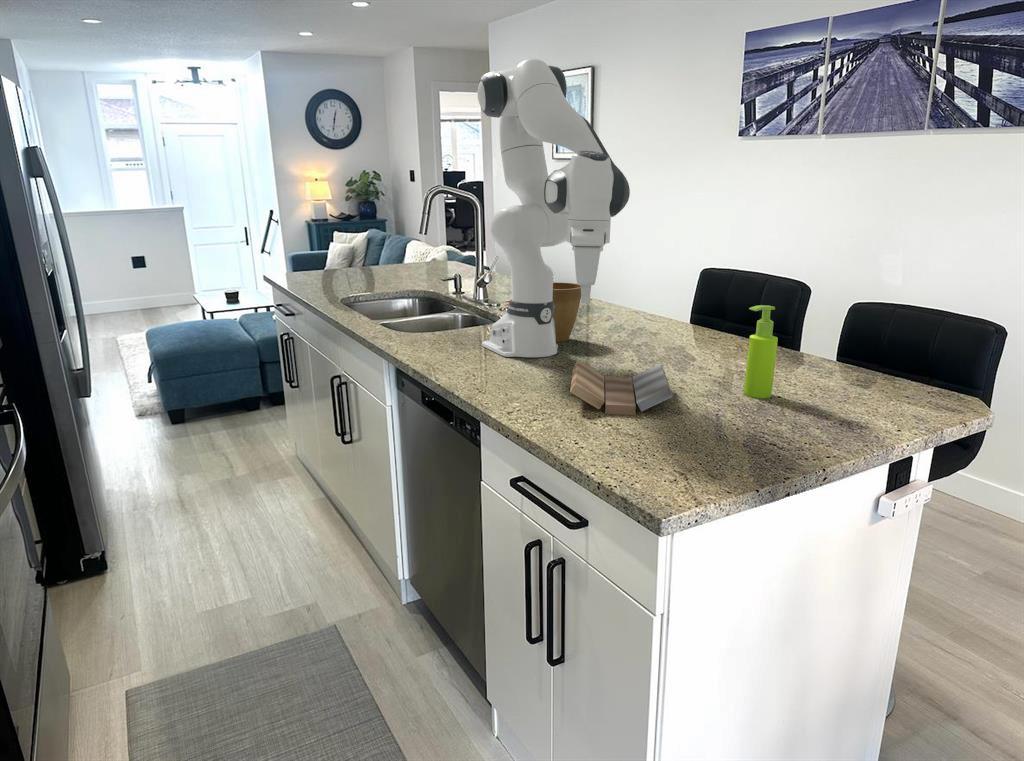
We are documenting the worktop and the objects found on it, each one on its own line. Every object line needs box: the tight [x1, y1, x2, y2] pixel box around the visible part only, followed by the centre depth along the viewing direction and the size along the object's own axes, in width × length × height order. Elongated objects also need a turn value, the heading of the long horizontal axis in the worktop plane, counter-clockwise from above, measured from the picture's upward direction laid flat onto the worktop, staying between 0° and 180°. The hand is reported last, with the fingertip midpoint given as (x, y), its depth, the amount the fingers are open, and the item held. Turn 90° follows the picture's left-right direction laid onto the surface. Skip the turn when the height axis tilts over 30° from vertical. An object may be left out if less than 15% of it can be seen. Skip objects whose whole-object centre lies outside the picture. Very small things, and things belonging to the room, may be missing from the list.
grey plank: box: [631, 363, 674, 413], centre depth 156 cm, size 20×7×2 cm, turn 173°
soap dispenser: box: [743, 304, 779, 399], centre depth 159 cm, size 6×7×20 cm
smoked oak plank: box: [569, 359, 605, 410], centre depth 157 cm, size 20×7×2 cm
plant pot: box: [553, 281, 581, 343], centre depth 211 cm, size 15×15×16 cm
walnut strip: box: [604, 375, 637, 416], centre depth 157 cm, size 22×6×2 cm, turn 174°
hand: (585, 300), depth 152 cm, fingers open, 4 cm apart
